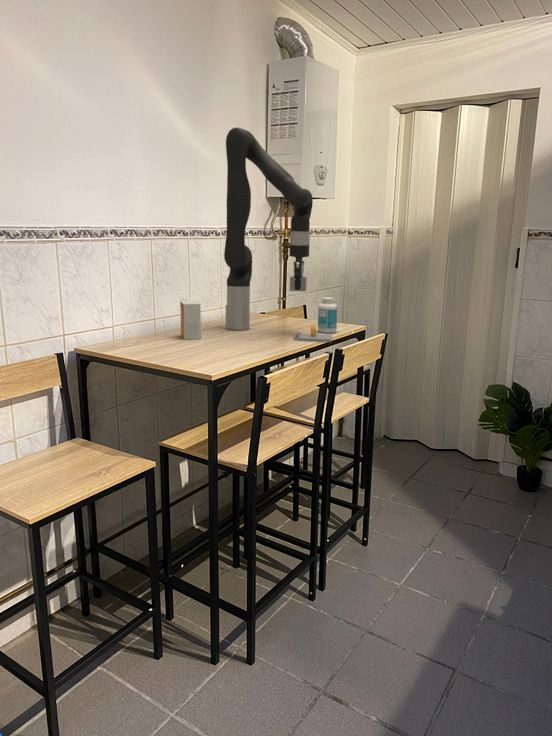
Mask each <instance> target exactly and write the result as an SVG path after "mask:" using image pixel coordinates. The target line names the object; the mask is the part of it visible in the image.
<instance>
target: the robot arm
mask: <svg viewBox="0 0 552 736" xmlns="http://www.w3.org/2000/svg"><path fill="white" fill-rule="evenodd" d="M225 150H226V161H227V162H226V163H227V164H226V165H227V171H226V172H227V176H226V177H227V180H226V181H227V183H226V185H227V186H226V234H225V244H224V245H225V246H224V255H223V259H224V262H225V264H226V265H227V266H228V267H229V273H228V276H227V277H226V304H225V330H232V331H241V330H242V331H244V330H245V331H246V330H250V326H251V325H250V324H251V323H250V317H251V315H250V314H251V309H250V308H251V307H250V306H251V304H250V302H251V279H252V275H253V253H252V250H251V249H250V248H249V246H248V245H246V244H245V243H246V241H245V237H246V236H245V235H246V234H245V233H246V228H247V225H248V221H249V218H250V213H251V207H252V205H251V204H252V203H251V202H252V193H251V192H252V191H251V185H250V181H249V178H248V175H247V174H248V173H247V167H246V166H247V164H246V162H247V160H248V161H250V162H251V163H252V164H254V165H255V166H256V167H257V168H258V170H259V171H260V172H261V173H262V175H263V176H264V177H265V179H266V180H267V181H268V182H269V183H270V184H271V185H272V186H273V187H274V188H275V189H276V190H278V192H280V193H281V195H282V196H283V198H285V200H286V201H287V202H288V203H289V204H290V205H292V207H294V211H293V212H294V214H293V215H292V216H291V220H290V232H289V233H290V234H289V249H288V250H289V257H292V258H295V261H294V260H293V265H292V266H293V276H294V279H295V290H300V289H301V277H304V268H305V261H304V260H303V259H304V258H308V257H310V243H311V242H310V241H311V238H310V226H311V225H310V218H311V214H312V210H313V205H314V204H313V202H314V201H313V200H314V199H313V198H314V197H313V195H312V193H311V191H310V190H309V189H307V188H302V186H300V185H299V184H298V183H297V182H296V181H295V179H294V177H293V176H292V175H291V174H290V173H289V172H288V171H287V170H286V169H285V168H284V167H282V165H280V164H279V163H278V162H277V161H276V160H275V159H273V158H272V156H271V155H269V154H268V153H267V151H266V150H265V149H264V148H263V147H262V146H261V144H260V143H259V141H258V140H257V139H256V138H255V136H254V135H253V134H252V133H251V132H250V131H249V130H248V129H244V128H242V127H233V128H232V129H230V130H229V131H228V132H227V135H226V139H225Z"/></svg>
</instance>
